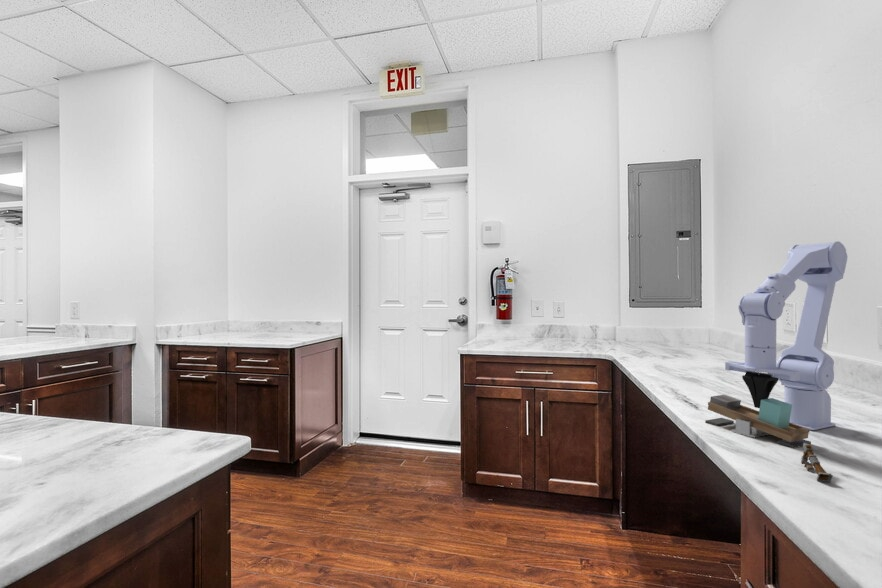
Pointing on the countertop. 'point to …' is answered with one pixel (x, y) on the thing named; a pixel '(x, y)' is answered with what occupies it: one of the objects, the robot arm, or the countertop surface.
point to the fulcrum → (752, 430)
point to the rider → (775, 412)
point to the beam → (754, 418)
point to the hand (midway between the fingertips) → (760, 407)
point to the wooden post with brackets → (814, 464)
